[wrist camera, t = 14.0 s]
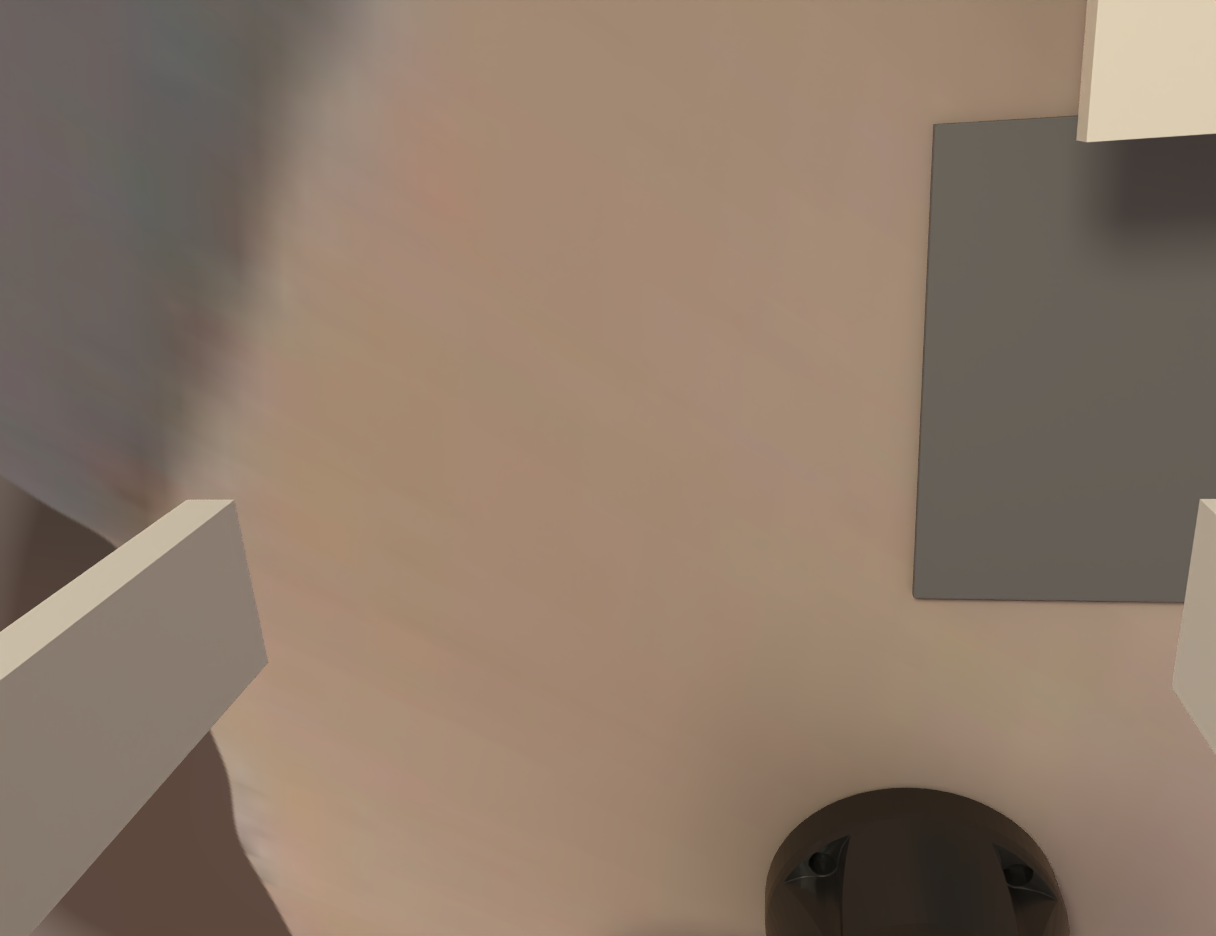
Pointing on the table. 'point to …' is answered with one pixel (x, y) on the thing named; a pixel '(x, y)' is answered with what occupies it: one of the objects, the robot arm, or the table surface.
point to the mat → (1065, 363)
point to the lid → (1148, 70)
